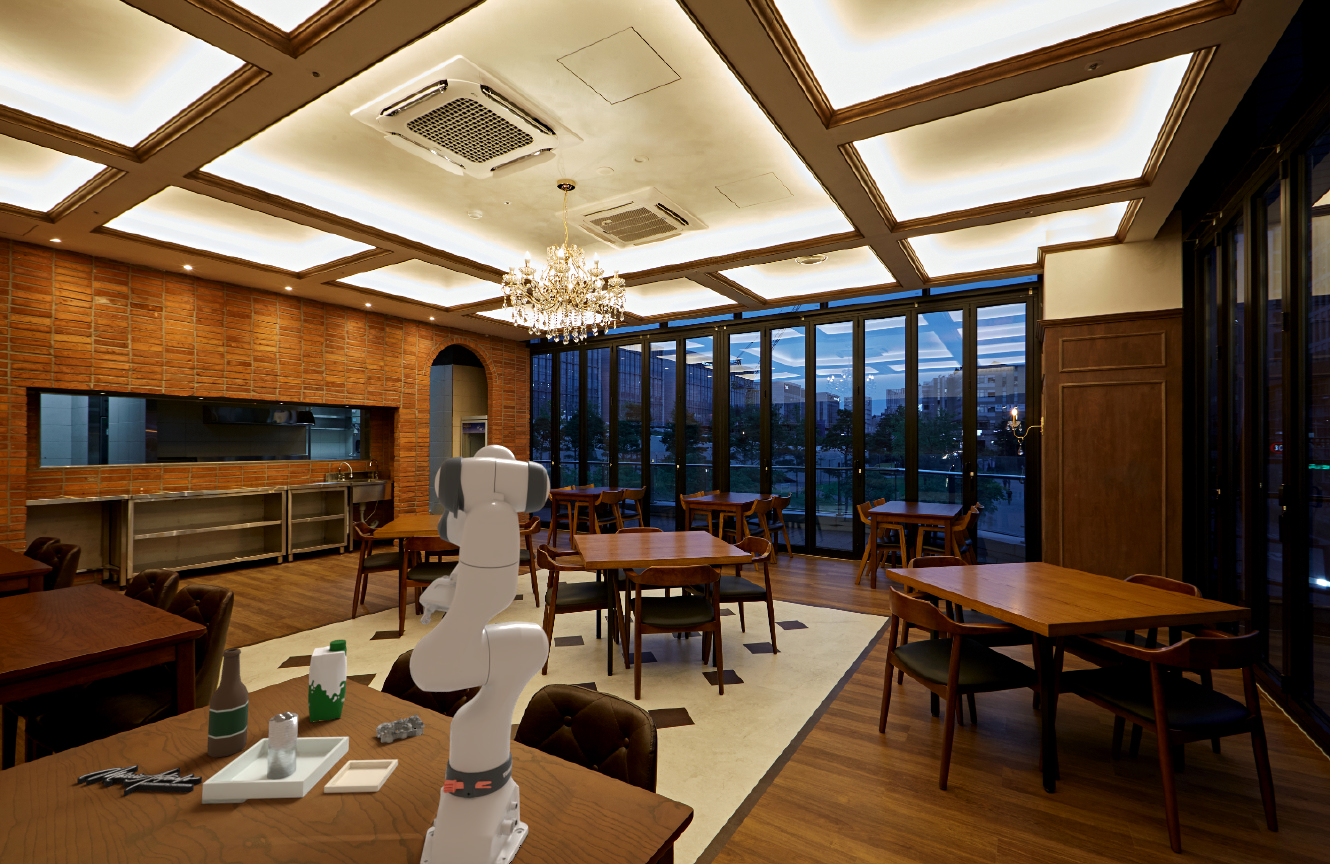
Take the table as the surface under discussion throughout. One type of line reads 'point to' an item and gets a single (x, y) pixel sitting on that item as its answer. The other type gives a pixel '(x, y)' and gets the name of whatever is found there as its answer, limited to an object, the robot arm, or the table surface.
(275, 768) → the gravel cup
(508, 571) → the robot arm
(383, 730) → the egg carton
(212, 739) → the beer bottle
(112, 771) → the nameplate
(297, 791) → the bin
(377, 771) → the tray
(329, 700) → the milk carton
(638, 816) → the table surface
